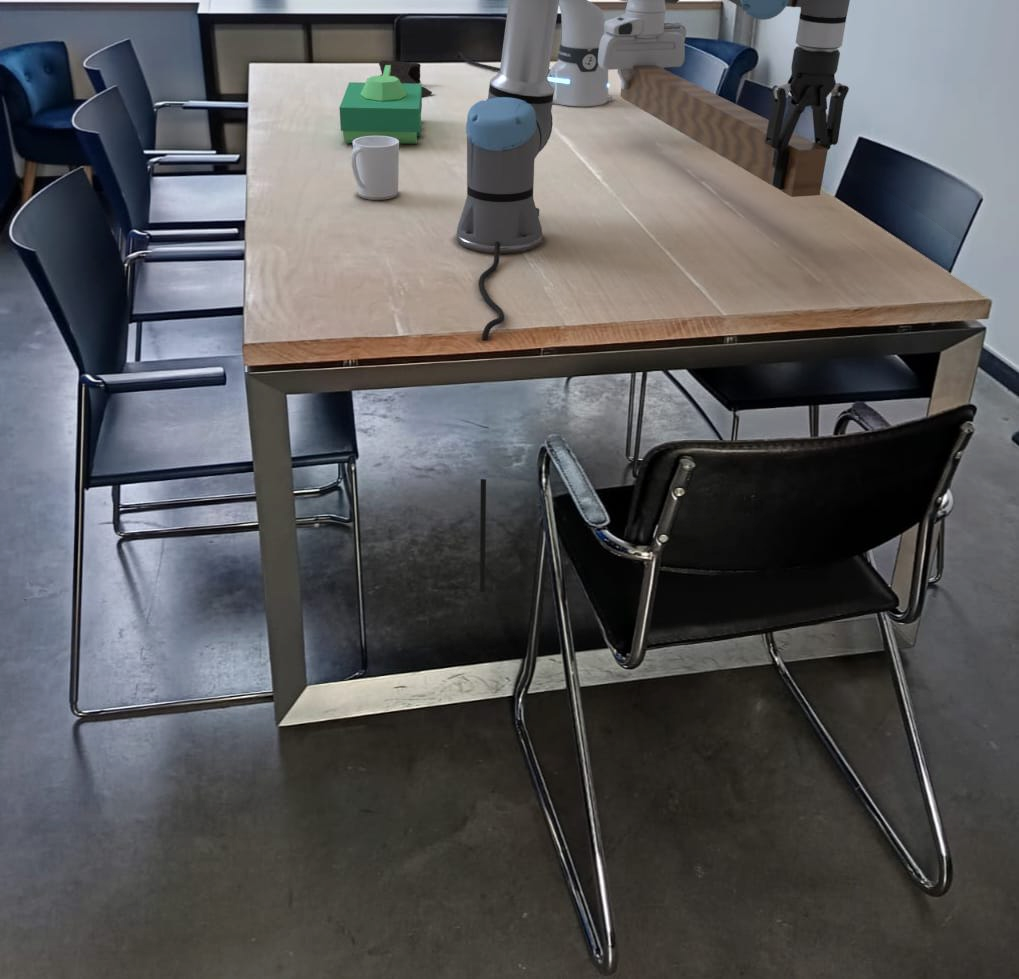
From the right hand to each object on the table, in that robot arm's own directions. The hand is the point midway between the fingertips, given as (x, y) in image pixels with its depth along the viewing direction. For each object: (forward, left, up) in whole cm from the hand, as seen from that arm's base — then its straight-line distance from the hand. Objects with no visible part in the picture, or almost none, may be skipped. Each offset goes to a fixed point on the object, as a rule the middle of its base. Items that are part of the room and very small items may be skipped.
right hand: (639, 88), depth 252 cm
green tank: (-25, -55, -12) cm, 61 cm away
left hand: (+72, 0, -2) cm, 72 cm away
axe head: (-65, -42, -12) cm, 78 cm away
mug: (+29, -68, -12) cm, 75 cm away
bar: (+36, 0, -3) cm, 36 cm away
